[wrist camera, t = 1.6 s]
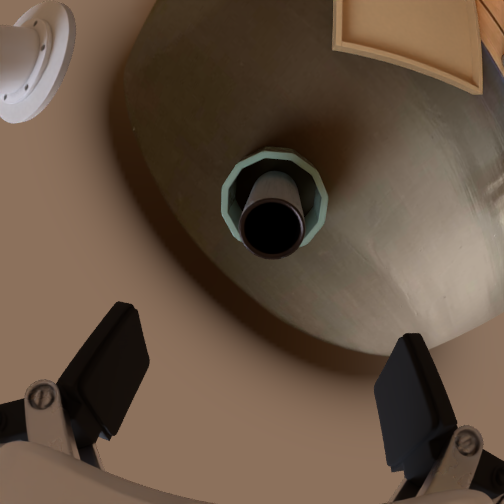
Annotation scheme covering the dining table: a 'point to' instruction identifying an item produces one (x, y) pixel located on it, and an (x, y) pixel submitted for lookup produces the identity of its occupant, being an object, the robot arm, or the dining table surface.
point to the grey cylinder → (273, 217)
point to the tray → (414, 36)
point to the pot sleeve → (228, 201)
